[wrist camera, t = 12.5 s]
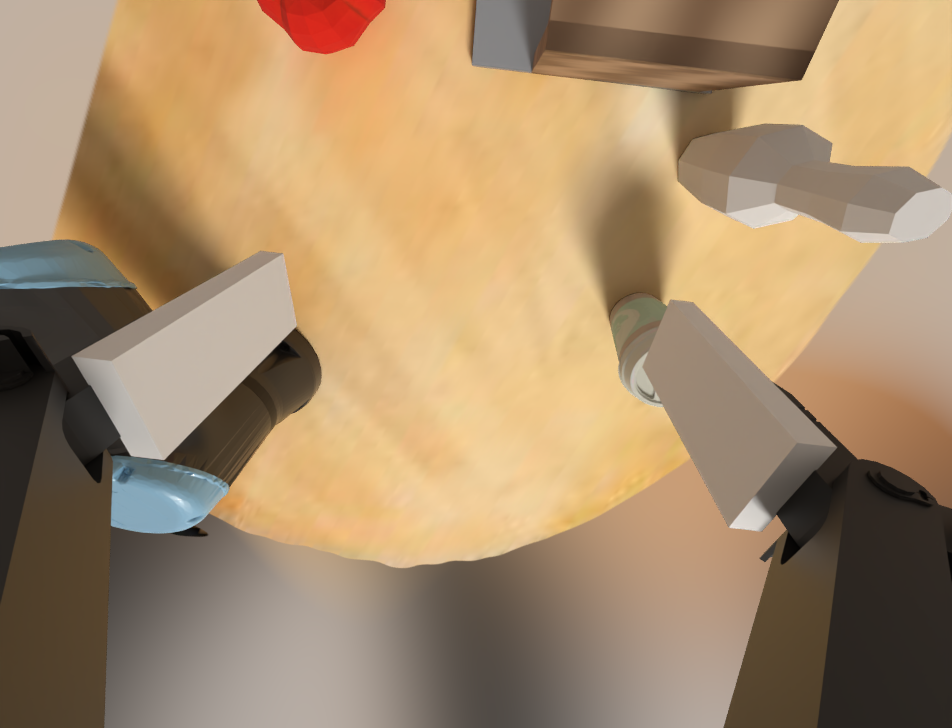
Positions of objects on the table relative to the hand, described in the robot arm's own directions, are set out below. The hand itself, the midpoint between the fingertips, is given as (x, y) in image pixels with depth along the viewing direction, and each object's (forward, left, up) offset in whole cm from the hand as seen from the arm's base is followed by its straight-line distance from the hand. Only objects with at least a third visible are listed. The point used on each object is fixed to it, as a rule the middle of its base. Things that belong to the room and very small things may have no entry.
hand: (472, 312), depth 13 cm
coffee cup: (+18, -12, -29) cm, 36 cm away
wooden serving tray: (+9, +11, -29) cm, 32 cm away
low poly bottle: (+19, +4, -29) cm, 35 cm away
